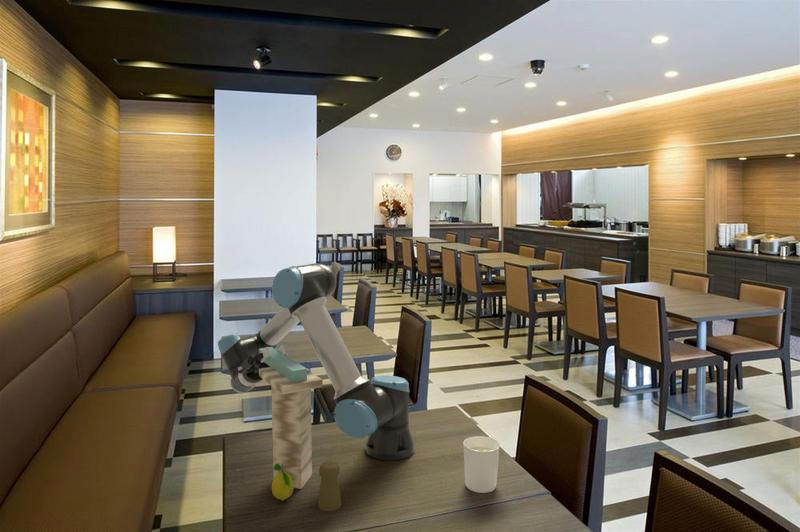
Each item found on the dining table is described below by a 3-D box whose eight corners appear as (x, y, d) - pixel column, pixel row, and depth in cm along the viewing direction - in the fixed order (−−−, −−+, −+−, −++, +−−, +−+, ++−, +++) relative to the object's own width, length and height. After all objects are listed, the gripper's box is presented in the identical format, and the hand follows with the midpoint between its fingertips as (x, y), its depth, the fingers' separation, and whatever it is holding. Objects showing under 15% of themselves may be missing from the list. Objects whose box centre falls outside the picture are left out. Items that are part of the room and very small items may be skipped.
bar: (258, 358, 169) (258, 348, 168) (271, 356, 171) (271, 346, 171) (292, 382, 147) (292, 371, 147) (307, 379, 149) (306, 368, 149)
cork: (343, 499, 147) (343, 458, 146) (338, 511, 141) (338, 470, 140) (320, 497, 148) (320, 457, 146) (315, 510, 142) (314, 468, 140)
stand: (298, 460, 168) (296, 362, 165) (324, 486, 153) (323, 379, 150) (261, 470, 162) (258, 369, 159) (284, 498, 147) (282, 387, 144)
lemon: (274, 493, 150) (273, 457, 149) (296, 493, 150) (295, 457, 148) (267, 506, 143) (266, 469, 142) (290, 507, 143) (289, 469, 142)
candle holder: (501, 480, 157) (502, 438, 156) (495, 497, 148) (496, 453, 147) (466, 474, 160) (467, 433, 159) (458, 491, 151) (459, 448, 150)
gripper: (281, 378, 184) (306, 358, 166) (228, 388, 175) (248, 367, 156) (276, 356, 186) (300, 334, 168) (224, 364, 177) (243, 342, 159)
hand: (275, 350), depth 162 cm, fingers closed on bar, 4 cm apart
